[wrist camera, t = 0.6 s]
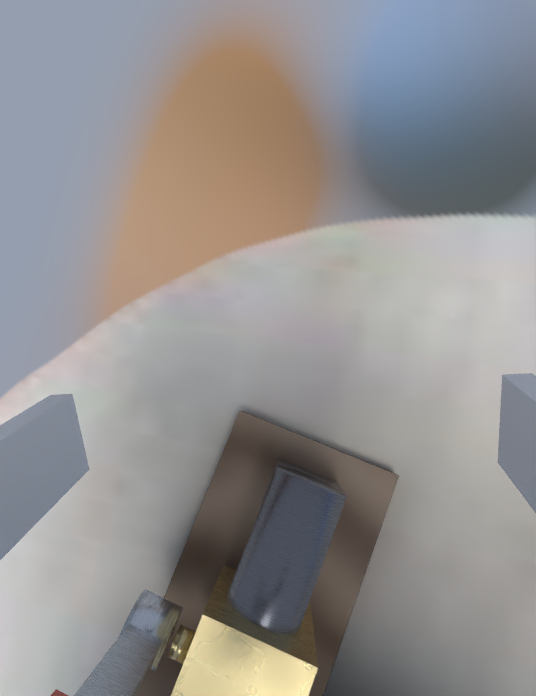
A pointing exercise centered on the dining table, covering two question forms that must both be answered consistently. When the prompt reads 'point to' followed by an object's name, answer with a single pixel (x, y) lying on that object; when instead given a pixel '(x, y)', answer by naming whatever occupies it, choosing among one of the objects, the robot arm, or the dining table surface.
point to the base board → (237, 522)
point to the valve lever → (134, 649)
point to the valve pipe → (265, 597)
